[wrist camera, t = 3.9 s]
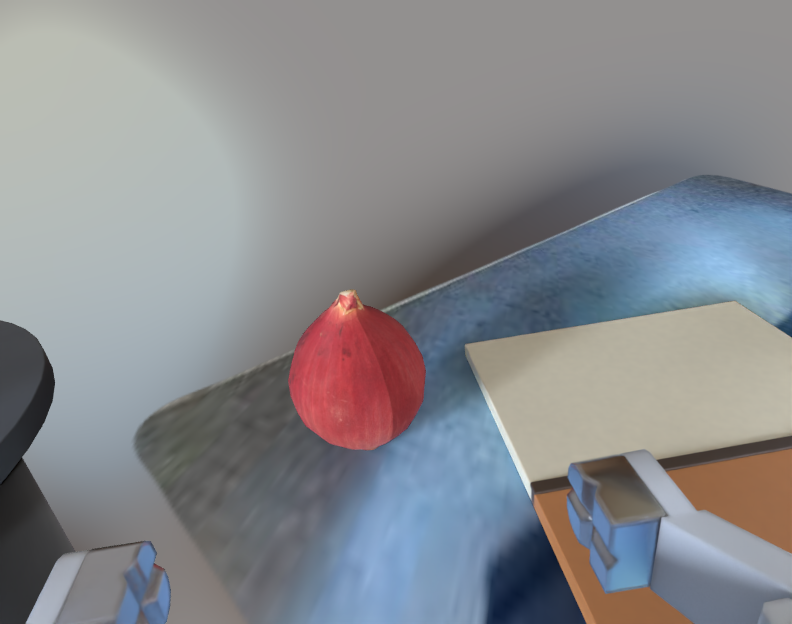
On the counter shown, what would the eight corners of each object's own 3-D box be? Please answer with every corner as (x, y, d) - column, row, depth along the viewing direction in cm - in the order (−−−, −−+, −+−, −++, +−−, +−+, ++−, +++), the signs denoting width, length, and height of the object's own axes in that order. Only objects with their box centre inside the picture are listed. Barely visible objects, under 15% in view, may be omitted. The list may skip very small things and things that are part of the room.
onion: (281, 471, 25) (237, 314, 21) (347, 396, 29) (321, 255, 25) (397, 508, 22) (372, 337, 18) (450, 419, 26) (438, 266, 23)
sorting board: (709, 897, 12) (716, 880, 11) (465, 355, 31) (464, 342, 31) (1365, 744, 13) (1393, 724, 12) (732, 312, 32) (735, 298, 32)
